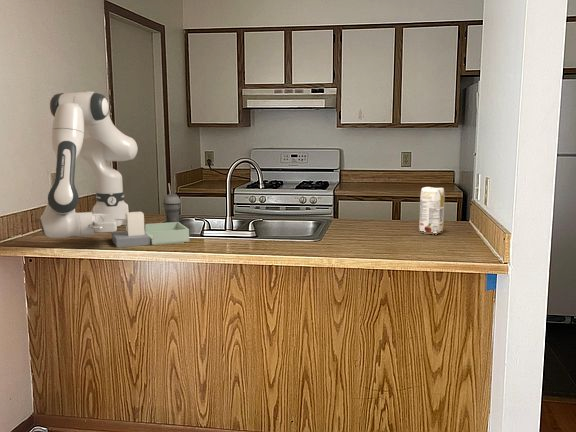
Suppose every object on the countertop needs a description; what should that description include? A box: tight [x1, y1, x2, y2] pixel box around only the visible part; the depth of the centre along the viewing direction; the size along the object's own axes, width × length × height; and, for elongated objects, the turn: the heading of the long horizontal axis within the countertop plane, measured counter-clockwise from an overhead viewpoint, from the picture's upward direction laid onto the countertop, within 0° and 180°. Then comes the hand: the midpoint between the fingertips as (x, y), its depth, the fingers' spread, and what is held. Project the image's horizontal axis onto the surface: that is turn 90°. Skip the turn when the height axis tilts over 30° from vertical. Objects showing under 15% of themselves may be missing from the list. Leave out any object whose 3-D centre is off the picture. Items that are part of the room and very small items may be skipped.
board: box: [110, 230, 151, 248], centre depth 224 cm, size 16×12×3 cm
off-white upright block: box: [125, 211, 145, 236], centre depth 224 cm, size 6×6×8 cm
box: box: [144, 221, 190, 246], centre depth 229 cm, size 18×14×5 cm
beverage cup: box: [162, 183, 182, 223], centre depth 247 cm, size 7×7×20 cm
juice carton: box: [418, 186, 445, 233], centre depth 240 cm, size 8×9×19 cm
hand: (126, 221), depth 223 cm, fingers closed
